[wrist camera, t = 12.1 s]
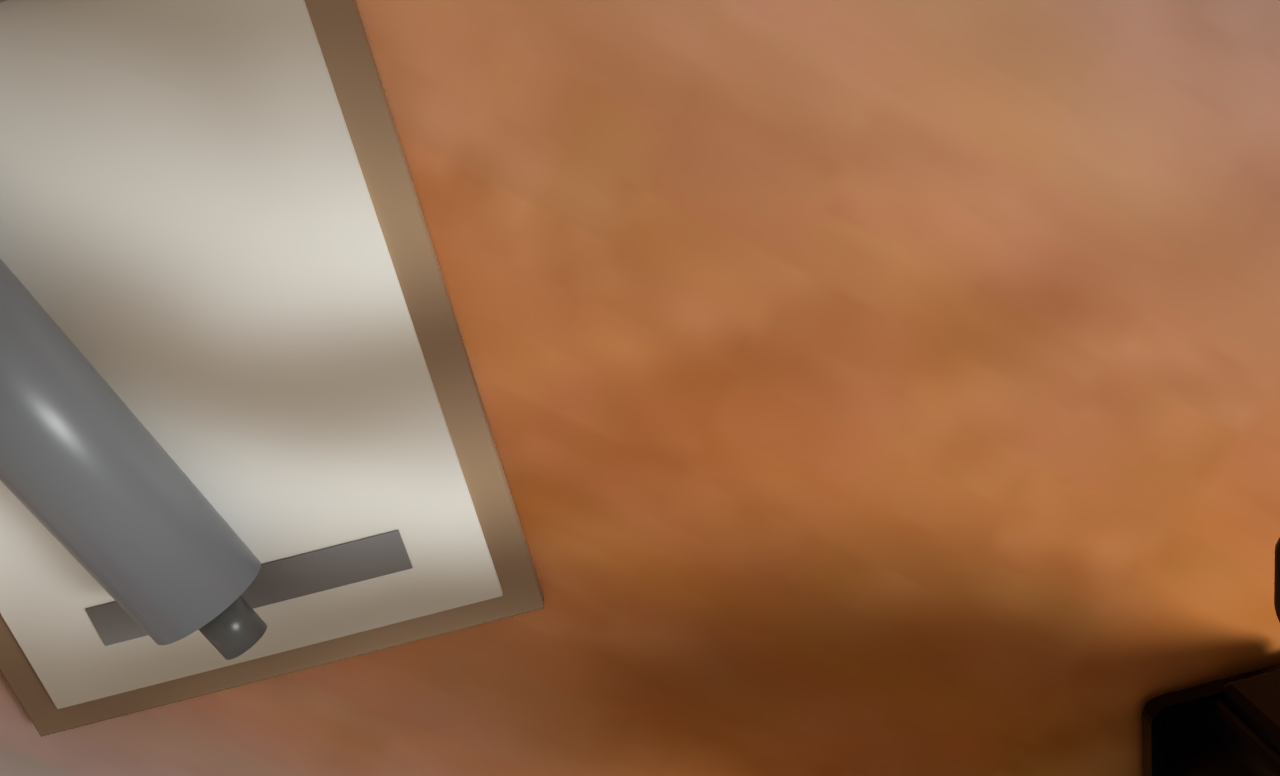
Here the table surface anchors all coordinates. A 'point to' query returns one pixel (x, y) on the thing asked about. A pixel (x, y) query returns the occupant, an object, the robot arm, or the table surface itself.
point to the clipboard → (244, 340)
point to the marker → (114, 489)
